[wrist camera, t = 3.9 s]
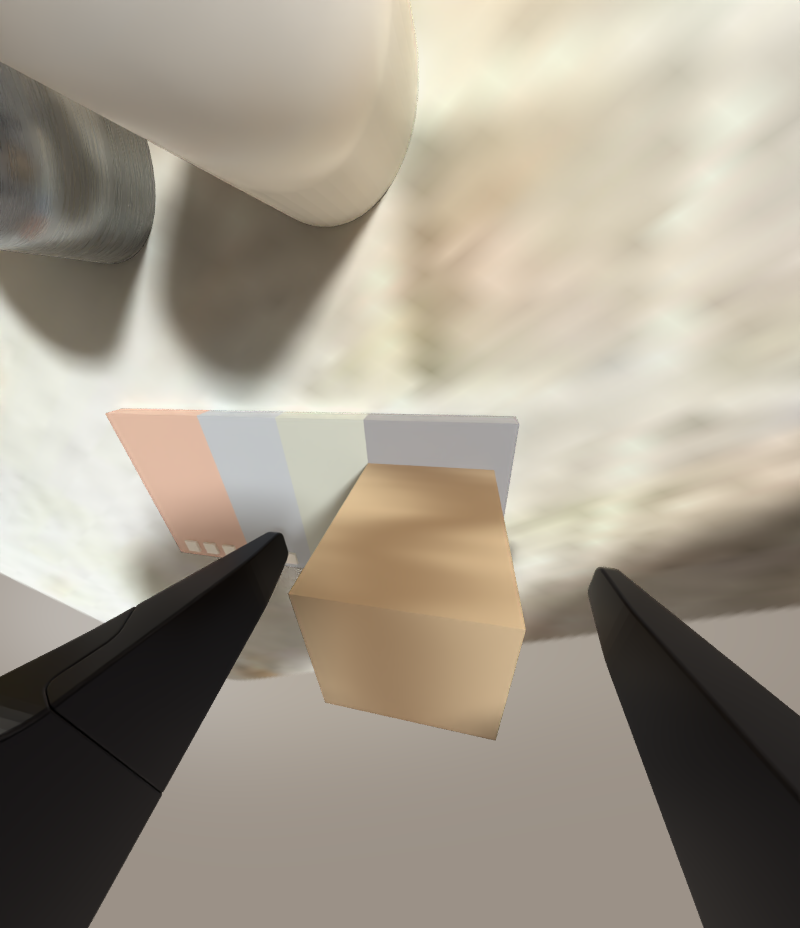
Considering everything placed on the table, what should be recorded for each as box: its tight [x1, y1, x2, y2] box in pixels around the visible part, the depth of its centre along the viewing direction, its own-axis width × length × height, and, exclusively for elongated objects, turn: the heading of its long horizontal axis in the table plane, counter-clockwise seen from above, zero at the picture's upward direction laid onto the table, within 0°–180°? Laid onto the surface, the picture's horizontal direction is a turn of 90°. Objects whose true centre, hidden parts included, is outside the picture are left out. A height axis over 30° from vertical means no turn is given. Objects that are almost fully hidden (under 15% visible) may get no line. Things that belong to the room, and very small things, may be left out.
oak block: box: [288, 463, 526, 740], centre depth 8 cm, size 4×4×5 cm
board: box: [105, 409, 519, 568], centre depth 11 cm, size 14×7×1 cm, turn 92°
